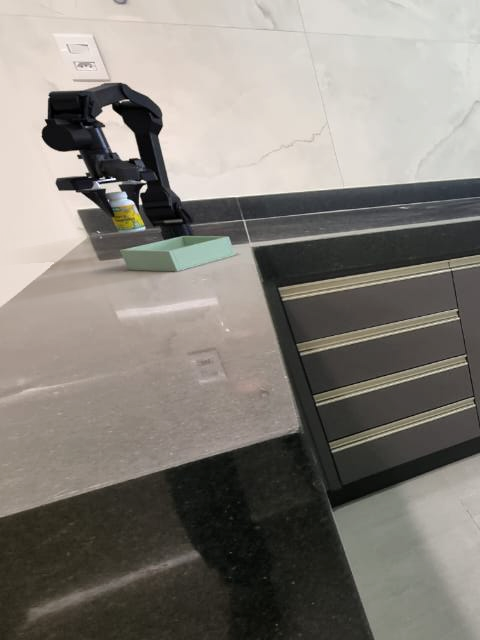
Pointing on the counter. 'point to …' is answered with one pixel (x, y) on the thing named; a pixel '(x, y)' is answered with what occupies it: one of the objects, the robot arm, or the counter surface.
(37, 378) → the counter surface
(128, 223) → the supplement bottle
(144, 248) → the bin
